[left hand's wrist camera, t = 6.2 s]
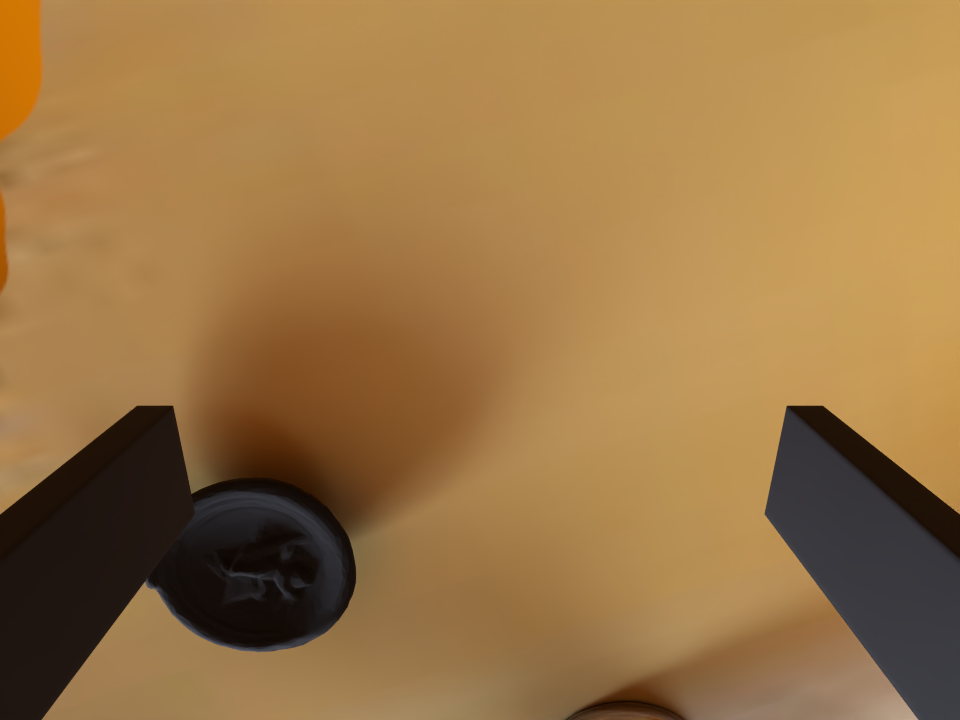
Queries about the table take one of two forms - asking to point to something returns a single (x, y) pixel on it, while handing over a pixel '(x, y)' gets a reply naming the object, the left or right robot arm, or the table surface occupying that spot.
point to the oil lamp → (257, 567)
